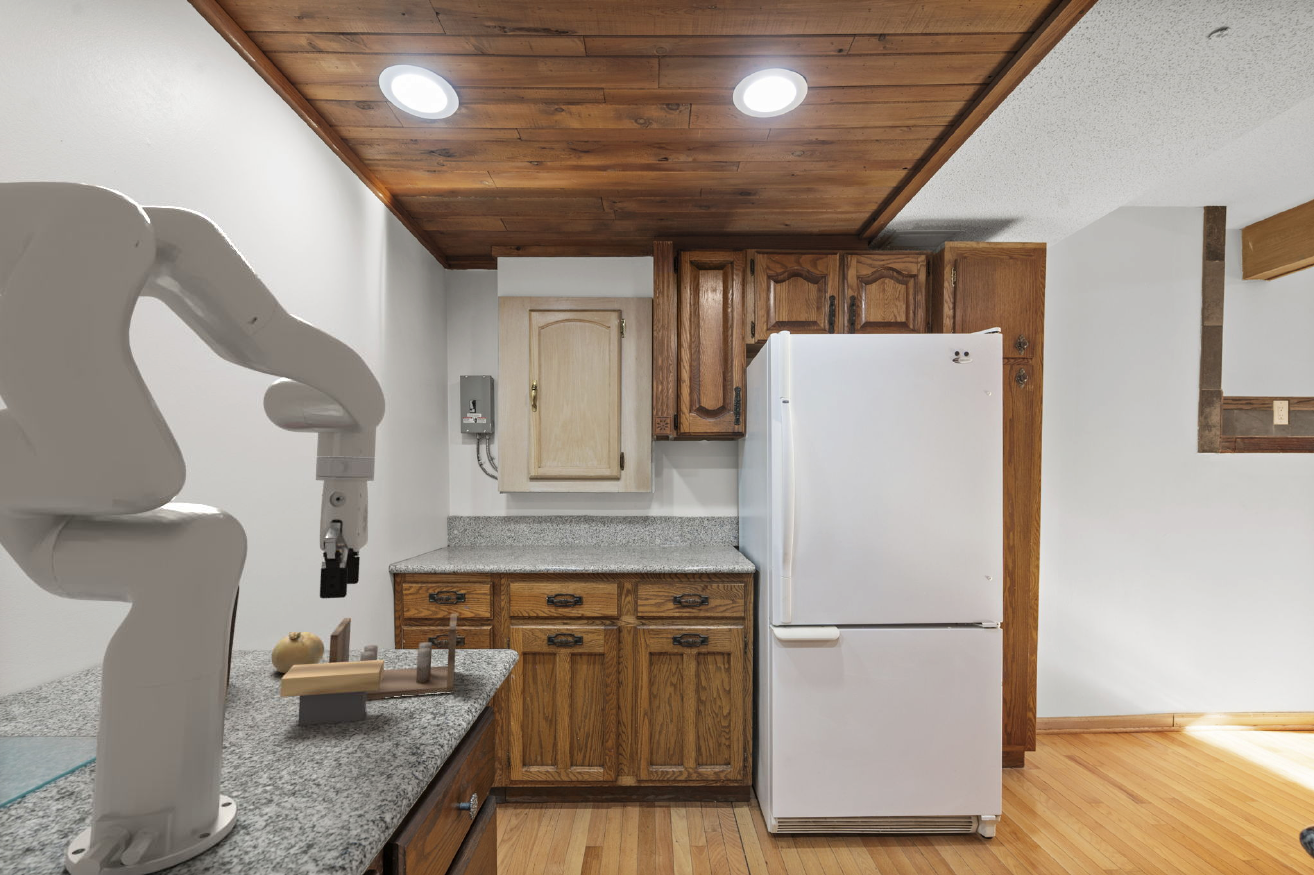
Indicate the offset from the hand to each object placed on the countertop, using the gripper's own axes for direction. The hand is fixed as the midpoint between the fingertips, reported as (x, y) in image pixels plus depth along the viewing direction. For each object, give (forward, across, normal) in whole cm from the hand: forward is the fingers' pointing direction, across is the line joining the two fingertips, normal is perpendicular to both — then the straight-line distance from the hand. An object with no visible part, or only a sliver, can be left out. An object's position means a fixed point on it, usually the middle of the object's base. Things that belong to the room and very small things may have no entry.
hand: (340, 590), depth 88 cm
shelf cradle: (+18, +12, -7) cm, 22 cm away
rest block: (+18, 0, 0) cm, 18 cm away
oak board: (+13, 0, 0) cm, 13 cm away
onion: (+18, +24, +10) cm, 32 cm away
